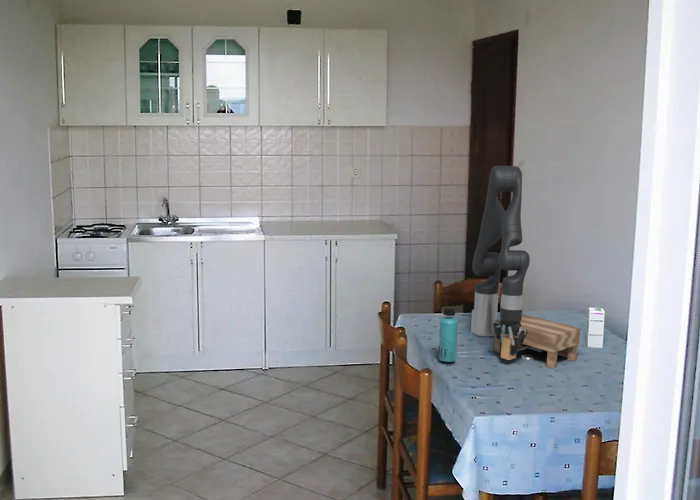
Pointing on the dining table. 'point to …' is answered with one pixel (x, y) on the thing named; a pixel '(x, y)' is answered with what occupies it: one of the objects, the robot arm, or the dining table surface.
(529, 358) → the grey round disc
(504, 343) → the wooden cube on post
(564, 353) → the small wooden stool
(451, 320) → the beverage bottle
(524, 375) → the dining table surface
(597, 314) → the syrup box
